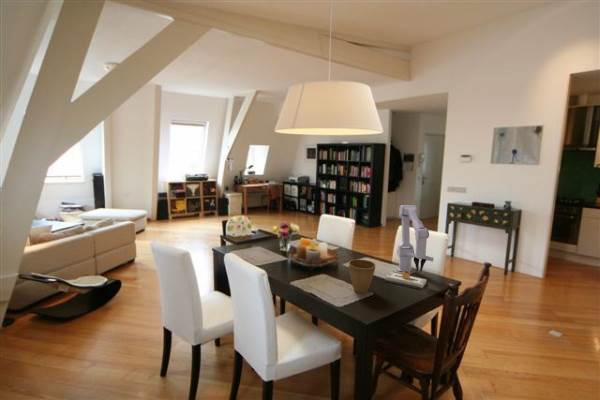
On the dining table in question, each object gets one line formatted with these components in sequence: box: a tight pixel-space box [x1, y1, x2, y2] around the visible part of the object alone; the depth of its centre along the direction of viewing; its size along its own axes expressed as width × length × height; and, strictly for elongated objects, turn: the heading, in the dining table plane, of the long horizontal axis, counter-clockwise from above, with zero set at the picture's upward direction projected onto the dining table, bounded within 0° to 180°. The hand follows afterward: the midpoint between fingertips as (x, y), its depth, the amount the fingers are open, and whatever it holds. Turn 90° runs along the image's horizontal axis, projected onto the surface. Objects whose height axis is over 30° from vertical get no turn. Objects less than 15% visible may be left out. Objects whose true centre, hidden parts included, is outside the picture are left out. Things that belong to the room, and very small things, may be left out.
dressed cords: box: [384, 271, 428, 290], centre depth 202 cm, size 16×21×1 cm
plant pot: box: [348, 259, 376, 294], centre depth 186 cm, size 15×15×16 cm
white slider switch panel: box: [385, 271, 427, 289], centre depth 202 cm, size 9×22×2 cm, turn 56°
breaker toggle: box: [402, 270, 411, 279], centre depth 201 cm, size 3×4×4 cm
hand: (419, 270), depth 196 cm, fingers closed
